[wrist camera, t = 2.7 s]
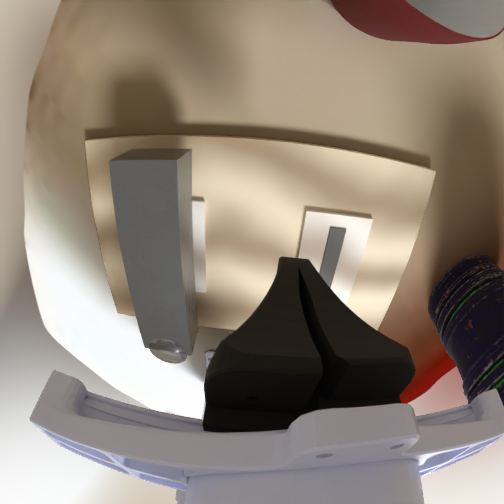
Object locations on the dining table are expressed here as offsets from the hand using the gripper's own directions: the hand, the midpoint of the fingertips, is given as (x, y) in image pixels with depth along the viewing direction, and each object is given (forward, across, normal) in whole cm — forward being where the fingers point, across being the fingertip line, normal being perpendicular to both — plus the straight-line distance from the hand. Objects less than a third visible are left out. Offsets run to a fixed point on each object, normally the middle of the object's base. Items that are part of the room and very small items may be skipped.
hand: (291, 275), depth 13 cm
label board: (+8, +2, +4) cm, 10 cm away
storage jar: (+9, -21, +7) cm, 24 cm away
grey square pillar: (+7, +8, +4) cm, 12 cm away
